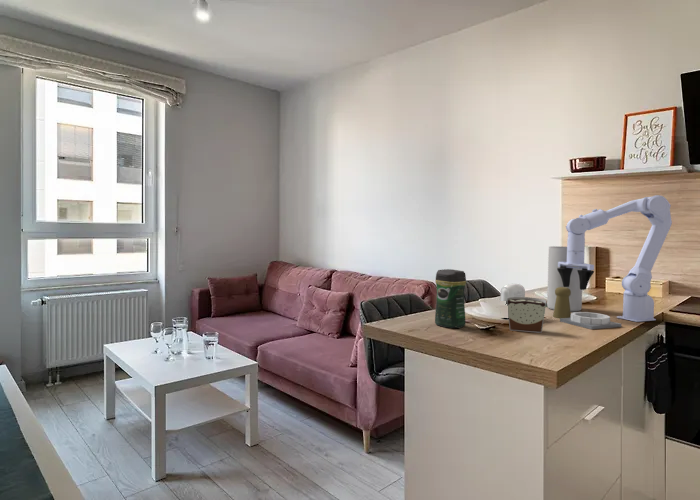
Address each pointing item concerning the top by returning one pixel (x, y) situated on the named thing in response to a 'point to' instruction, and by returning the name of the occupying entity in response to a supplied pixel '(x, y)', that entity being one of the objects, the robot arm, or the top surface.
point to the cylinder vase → (555, 280)
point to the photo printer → (512, 291)
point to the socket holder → (590, 320)
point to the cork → (562, 303)
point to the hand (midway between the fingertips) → (574, 288)
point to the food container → (526, 314)
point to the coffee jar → (450, 298)
